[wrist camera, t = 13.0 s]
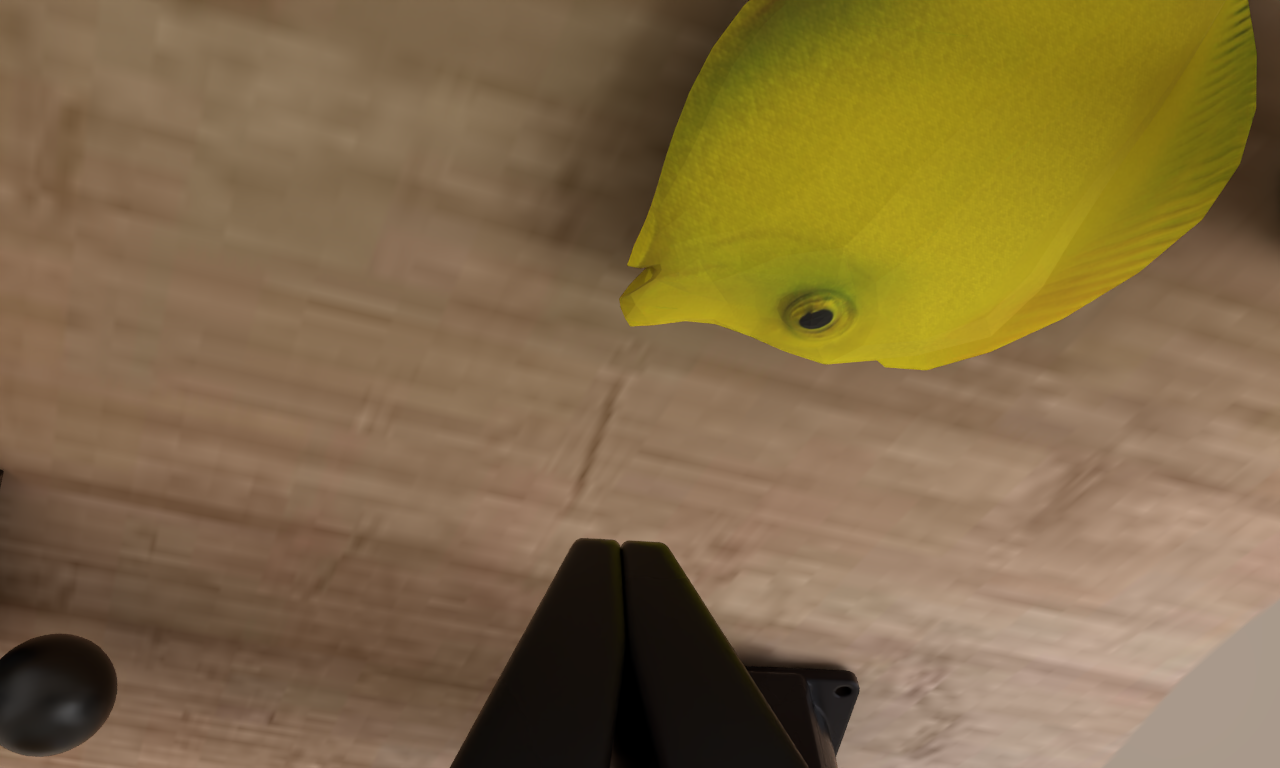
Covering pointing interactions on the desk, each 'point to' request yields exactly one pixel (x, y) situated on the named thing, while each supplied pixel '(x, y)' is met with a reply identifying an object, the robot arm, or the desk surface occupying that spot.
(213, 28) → the desk surface
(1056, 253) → the fish
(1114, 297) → the desk surface
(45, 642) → the lever
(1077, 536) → the desk surface
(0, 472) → the bracket
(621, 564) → the robot arm
